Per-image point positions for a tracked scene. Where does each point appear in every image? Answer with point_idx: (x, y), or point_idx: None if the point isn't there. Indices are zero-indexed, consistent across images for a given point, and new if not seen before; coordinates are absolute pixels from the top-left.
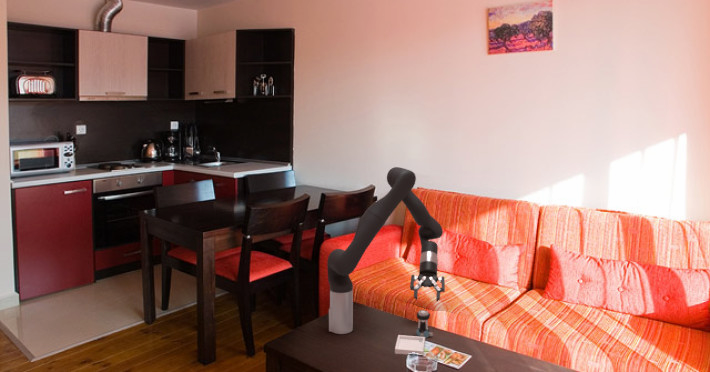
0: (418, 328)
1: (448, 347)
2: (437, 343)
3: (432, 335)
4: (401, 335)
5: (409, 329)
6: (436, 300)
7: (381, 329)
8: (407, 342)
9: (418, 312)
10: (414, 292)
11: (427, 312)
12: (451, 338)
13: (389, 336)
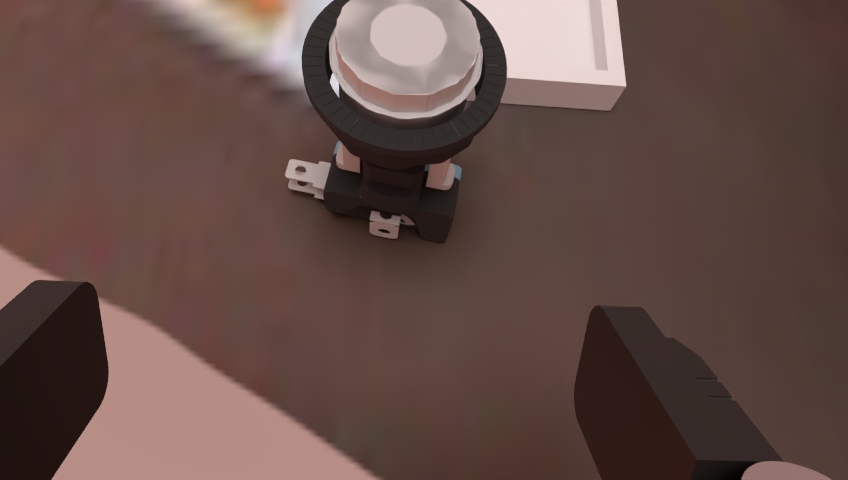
0: (445, 192)
1: (165, 10)
2: (256, 69)
3: (293, 182)
4: (596, 79)
5: (540, 339)
6: (101, 332)
7: (817, 298)
8: (522, 30)
9: (482, 114)
10: (737, 417)
11: (341, 17)
12: (99, 178)
13: (698, 158)
